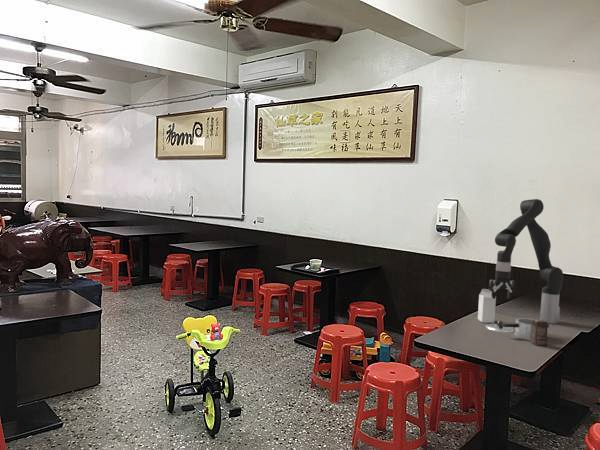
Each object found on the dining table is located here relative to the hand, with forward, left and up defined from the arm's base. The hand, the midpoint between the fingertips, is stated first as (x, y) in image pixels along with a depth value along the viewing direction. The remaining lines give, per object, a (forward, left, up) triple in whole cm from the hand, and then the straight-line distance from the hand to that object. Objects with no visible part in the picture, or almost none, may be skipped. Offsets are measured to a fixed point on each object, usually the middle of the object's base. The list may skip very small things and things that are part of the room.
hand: (501, 298), depth 257 cm
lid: (0, 0, -17) cm, 17 cm away
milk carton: (+1, -14, -17) cm, 22 cm away
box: (-6, +27, -17) cm, 33 cm away
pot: (-6, +16, -17) cm, 23 cm away
